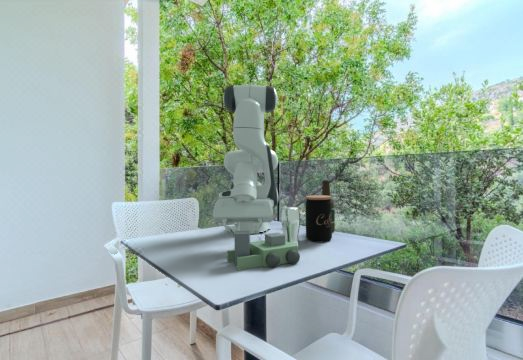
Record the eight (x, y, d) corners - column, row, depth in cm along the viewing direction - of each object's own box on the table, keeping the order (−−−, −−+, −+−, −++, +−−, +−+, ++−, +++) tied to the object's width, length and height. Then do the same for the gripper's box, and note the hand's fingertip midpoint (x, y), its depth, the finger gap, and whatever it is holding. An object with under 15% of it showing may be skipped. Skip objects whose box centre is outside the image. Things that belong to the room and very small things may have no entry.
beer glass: (299, 250, 113) (299, 209, 113) (280, 249, 114) (279, 208, 114) (301, 245, 120) (300, 206, 119) (283, 245, 121) (282, 206, 121)
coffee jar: (317, 243, 123) (316, 198, 122) (300, 238, 132) (300, 196, 131) (337, 240, 128) (337, 196, 127) (320, 235, 137) (319, 194, 137)
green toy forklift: (224, 259, 104) (223, 235, 104) (277, 251, 112) (276, 229, 112) (242, 273, 89) (241, 245, 89) (301, 262, 98) (300, 237, 98)
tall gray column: (236, 261, 100) (235, 231, 100) (250, 261, 100) (249, 230, 100) (235, 266, 96) (234, 233, 96) (249, 266, 96) (249, 233, 96)
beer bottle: (317, 229, 150) (316, 180, 150) (333, 229, 150) (333, 179, 149) (319, 233, 143) (318, 180, 142) (336, 233, 142) (335, 180, 141)
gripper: (273, 203, 112) (274, 237, 103) (217, 204, 112) (212, 237, 103) (273, 192, 107) (274, 226, 98) (214, 192, 108) (209, 226, 99)
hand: (242, 232), depth 101 cm, fingers open, 8 cm apart
